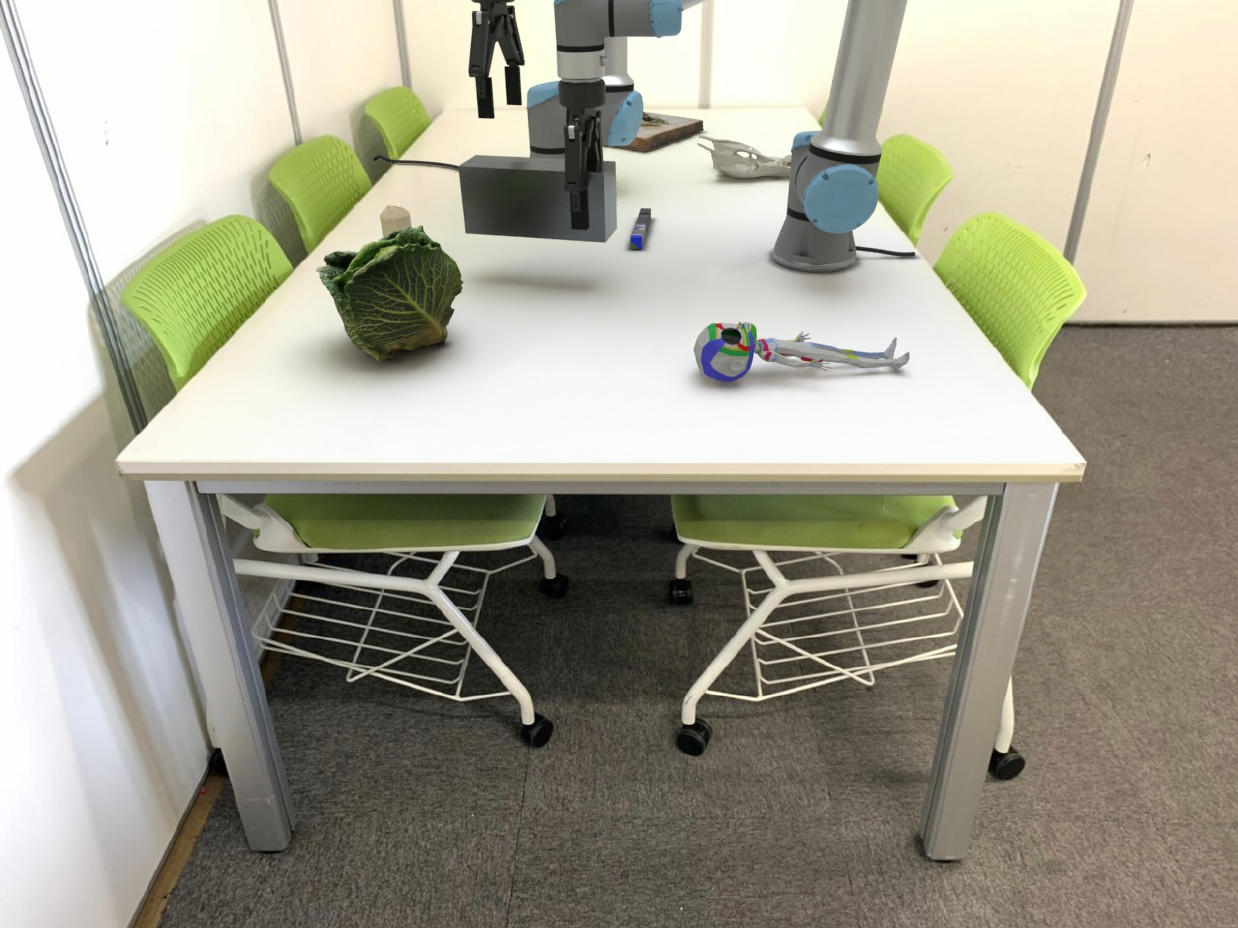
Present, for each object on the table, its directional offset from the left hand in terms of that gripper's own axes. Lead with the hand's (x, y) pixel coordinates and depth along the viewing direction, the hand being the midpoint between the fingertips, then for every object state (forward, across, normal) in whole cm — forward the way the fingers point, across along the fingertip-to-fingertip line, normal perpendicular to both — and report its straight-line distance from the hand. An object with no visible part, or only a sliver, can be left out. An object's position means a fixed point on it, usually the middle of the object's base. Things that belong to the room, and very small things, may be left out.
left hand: (501, 111), depth 159 cm
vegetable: (+28, -43, +2) cm, 51 cm away
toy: (+27, -38, -58) cm, 74 cm away
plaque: (+24, +105, +2) cm, 108 cm away
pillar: (+26, +19, -21) cm, 39 cm away
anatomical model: (+25, +68, -36) cm, 81 cm away
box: (+18, -11, -10) cm, 23 cm away
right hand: (+15, -11, -19) cm, 27 cm away
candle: (+27, -6, +20) cm, 34 cm away
